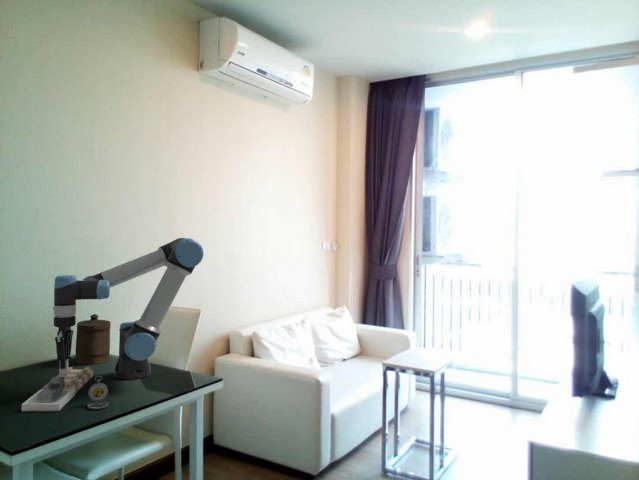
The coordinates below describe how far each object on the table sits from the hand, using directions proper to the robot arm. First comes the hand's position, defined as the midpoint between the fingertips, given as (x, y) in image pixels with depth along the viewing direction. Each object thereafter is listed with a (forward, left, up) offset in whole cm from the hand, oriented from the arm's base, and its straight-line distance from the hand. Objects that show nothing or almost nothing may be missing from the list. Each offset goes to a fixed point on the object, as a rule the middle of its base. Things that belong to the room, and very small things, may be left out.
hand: (63, 376), depth 189 cm
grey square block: (-2, +10, -5) cm, 12 cm away
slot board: (+2, -7, -6) cm, 9 cm away
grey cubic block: (-2, +12, -3) cm, 13 cm away
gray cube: (-1, +6, -3) cm, 6 cm away
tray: (-2, +13, -6) cm, 14 cm away
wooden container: (+10, -44, -6) cm, 45 cm away
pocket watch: (-20, +13, -6) cm, 24 cm away
